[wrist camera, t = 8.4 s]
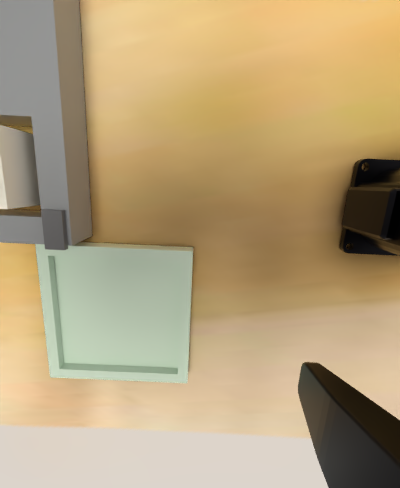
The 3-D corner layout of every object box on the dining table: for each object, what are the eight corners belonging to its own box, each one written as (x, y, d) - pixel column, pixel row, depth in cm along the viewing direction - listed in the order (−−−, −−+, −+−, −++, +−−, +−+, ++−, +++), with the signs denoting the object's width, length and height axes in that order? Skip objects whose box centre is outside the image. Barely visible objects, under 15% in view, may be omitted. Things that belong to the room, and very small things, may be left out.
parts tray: (193, 247, 19) (192, 251, 17) (188, 372, 21) (187, 383, 20) (45, 240, 18) (35, 244, 17) (58, 366, 21) (50, 377, 20)
